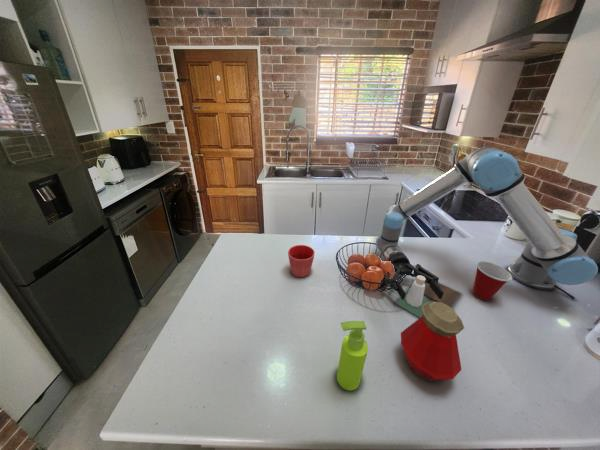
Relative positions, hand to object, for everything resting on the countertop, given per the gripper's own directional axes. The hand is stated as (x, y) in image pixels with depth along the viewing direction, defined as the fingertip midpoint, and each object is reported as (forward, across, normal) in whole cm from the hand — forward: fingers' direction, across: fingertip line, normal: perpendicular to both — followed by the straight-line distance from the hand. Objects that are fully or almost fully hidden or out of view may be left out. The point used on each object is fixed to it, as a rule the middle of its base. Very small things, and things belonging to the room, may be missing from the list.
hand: (422, 296), depth 83 cm
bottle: (+19, +8, -7) cm, 22 cm away
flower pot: (-23, +40, -6) cm, 46 cm away
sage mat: (-1, -2, -6) cm, 7 cm away
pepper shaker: (-4, 0, -6) cm, 7 cm away
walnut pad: (-9, -12, -6) cm, 16 cm away
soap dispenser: (+22, +31, -7) cm, 38 cm away
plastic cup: (-7, -29, -7) cm, 30 cm away
